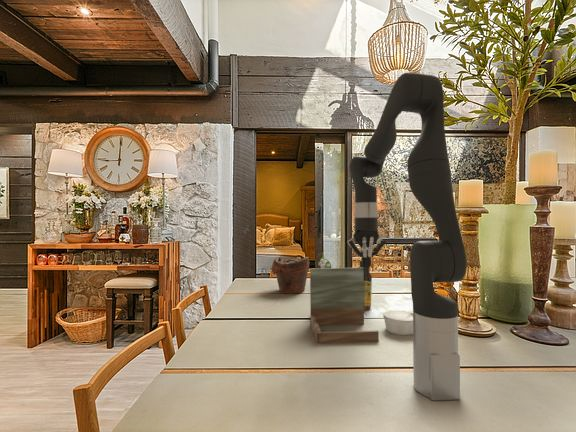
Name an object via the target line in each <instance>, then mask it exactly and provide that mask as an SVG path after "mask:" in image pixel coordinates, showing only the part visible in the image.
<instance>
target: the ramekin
mask: <svg viewBox="0 0 576 432" xmlns="http://www.w3.org/2000/svg"><path fill="white" fill-rule="evenodd" d="M382 316H383V319H384V325H385V328H386V330H387V332H389V333H390V334H391V333H392V334H394V335H398V336H410V335H413V312H411V311H406V310H399V309H397V310H395V309H394V310H387V311H385V312H383V315H382Z"/></svg>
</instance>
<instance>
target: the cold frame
mask: <svg viewBox="0 0 576 432" xmlns="http://www.w3.org/2000/svg"><path fill="white" fill-rule="evenodd" d="M309 273H310V274H309V278H310V279H309V281H310V282H309V283H310V284H309V287H310V288H309V290H310V291H309V293H310V294H309V295H310V297H309V298H310V303H309V304H310V309H309V310H310V327H311V329H312V332H313V335H314V337H315V340H316V344H329V343H330V344H335V343H363V342H364V343H365V342H379V340H380V339H379V338H380V337H379V332H380V331H379V330H350V331H349V330H347V331H345V330H344V331H341V330H340V331H321V328H320V326H339V325H340V326H342V325H344V326H346V325H348V326H349V325H350V326H351V325H364V324H365V310H364V268H360V267H331V268H321V267H320V268H318V267H317V268H309Z"/></svg>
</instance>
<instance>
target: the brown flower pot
mask: <svg viewBox="0 0 576 432" xmlns="http://www.w3.org/2000/svg"><path fill="white" fill-rule="evenodd" d="M310 263H311V262H310V258H309V257H308V256H305V257H304V258H299V259H293V258H292V259H291V258H288V257H287V258H286V257H282V256H280V257H276V258H274V260H273V261H272V264H271V268H270V269H271V272H272V273H273V275H275V276H276V280H277V284H278V291H279V292H280V293H283V294H284V293H285V294H294V295H295V294H301V293H304V292H305V290H306V283H307V279H308V278H307V277H308V272H309V270H310Z"/></svg>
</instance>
